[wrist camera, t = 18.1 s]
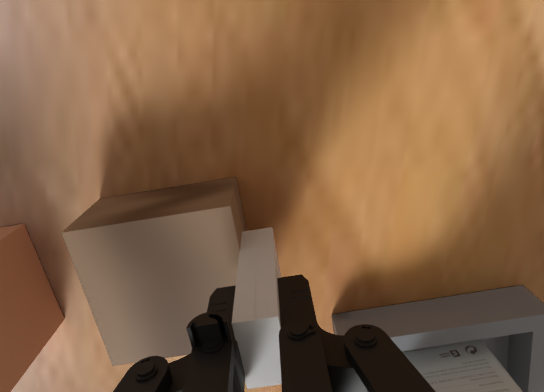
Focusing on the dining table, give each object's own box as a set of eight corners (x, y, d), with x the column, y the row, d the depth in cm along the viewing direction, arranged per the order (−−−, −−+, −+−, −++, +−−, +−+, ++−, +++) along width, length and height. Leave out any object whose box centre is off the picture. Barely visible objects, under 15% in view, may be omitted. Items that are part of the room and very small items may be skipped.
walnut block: (236, 176, 19) (230, 205, 15) (259, 293, 22) (259, 343, 18) (99, 198, 19) (61, 232, 16) (138, 312, 22) (112, 365, 18)
